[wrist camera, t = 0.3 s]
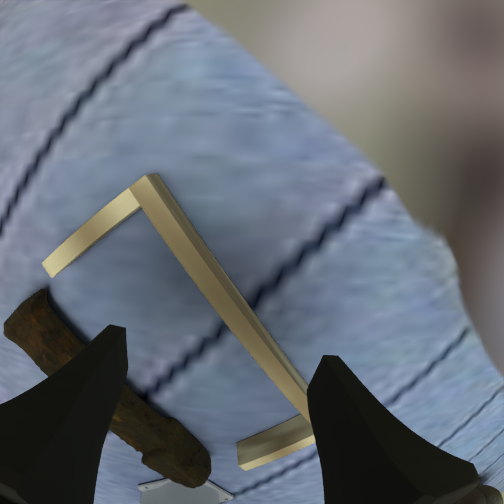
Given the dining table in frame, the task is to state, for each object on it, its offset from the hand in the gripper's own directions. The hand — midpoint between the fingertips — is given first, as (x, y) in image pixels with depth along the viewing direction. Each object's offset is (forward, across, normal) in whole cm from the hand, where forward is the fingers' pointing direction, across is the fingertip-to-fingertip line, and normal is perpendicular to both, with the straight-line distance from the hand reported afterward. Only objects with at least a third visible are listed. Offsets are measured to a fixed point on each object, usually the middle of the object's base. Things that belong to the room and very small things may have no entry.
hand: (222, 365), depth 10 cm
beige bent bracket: (+9, +1, +8) cm, 13 cm away
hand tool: (+9, +6, +14) cm, 18 cm away
